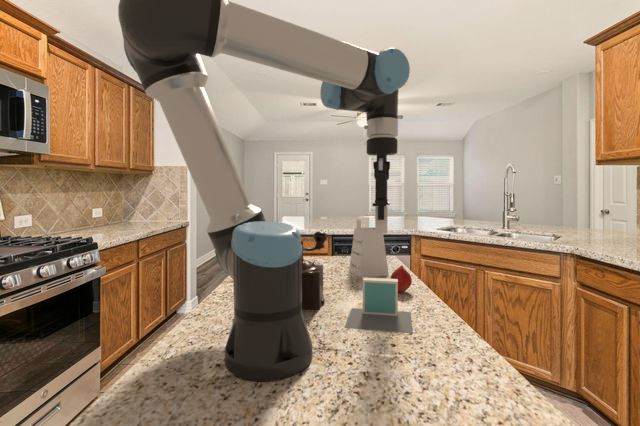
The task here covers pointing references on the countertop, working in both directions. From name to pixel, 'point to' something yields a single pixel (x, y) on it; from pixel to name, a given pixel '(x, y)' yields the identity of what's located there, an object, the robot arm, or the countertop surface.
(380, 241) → the grater
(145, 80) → the robot arm
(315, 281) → the manual coffee grinder
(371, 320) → the mat
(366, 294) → the tile
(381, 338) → the countertop surface
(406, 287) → the onion
